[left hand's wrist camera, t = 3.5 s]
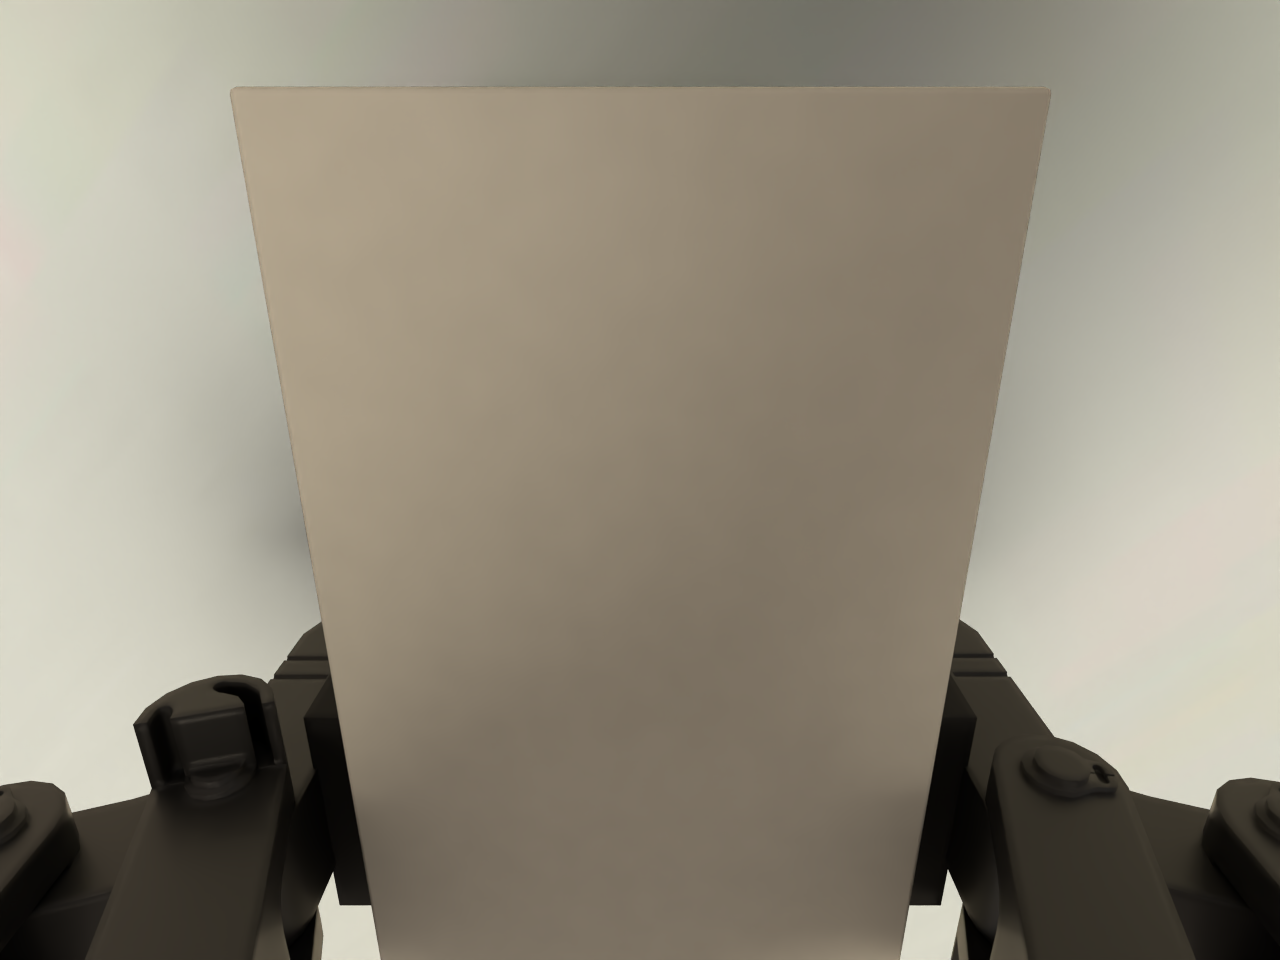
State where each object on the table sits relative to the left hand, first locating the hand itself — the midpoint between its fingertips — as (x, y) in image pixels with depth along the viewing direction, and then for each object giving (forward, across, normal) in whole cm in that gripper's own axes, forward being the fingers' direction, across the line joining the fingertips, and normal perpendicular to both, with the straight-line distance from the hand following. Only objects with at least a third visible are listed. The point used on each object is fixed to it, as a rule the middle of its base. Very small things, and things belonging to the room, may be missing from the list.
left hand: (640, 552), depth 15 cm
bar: (+1, 0, -27) cm, 27 cm away
